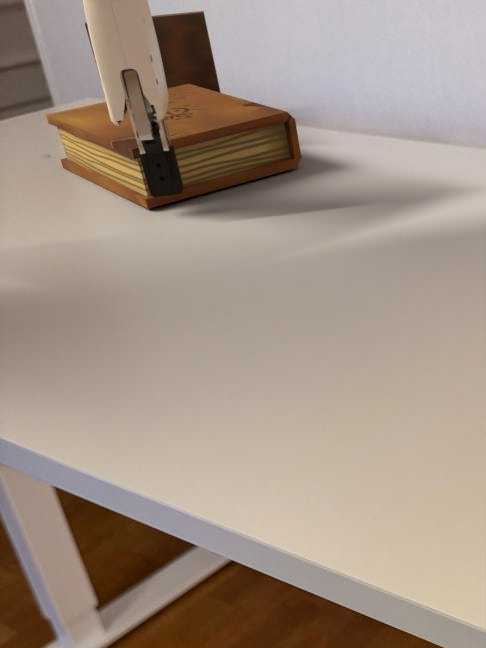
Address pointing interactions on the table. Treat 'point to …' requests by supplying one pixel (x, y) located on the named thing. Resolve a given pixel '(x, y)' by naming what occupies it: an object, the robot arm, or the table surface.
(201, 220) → the table surface
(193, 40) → the bookend
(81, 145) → the diary
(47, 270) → the table surface
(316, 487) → the table surface
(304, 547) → the table surface
